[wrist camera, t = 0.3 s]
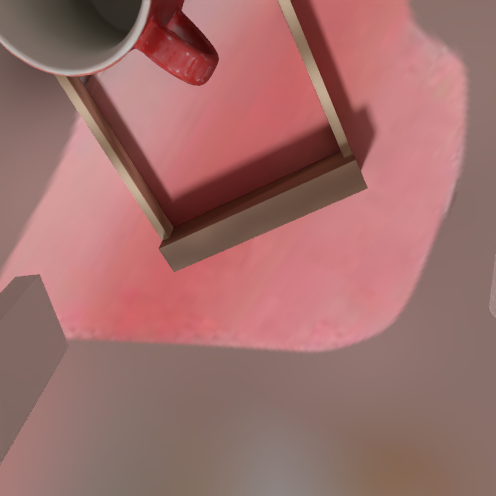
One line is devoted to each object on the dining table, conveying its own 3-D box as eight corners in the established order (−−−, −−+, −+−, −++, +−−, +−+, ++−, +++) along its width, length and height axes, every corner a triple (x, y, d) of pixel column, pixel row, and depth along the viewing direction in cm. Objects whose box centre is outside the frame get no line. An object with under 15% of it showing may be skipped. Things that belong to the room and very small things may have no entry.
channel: (37, 28, 34) (14, 30, 31) (246, -105, 30) (243, -118, 27) (181, 252, 43) (174, 272, 39) (359, 173, 38) (367, 188, 35)
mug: (46, -6, 33) (-79, -14, 21) (112, -130, 30) (7, -222, 18) (187, 109, 37) (148, 159, 25) (261, 10, 33) (257, 12, 21)
